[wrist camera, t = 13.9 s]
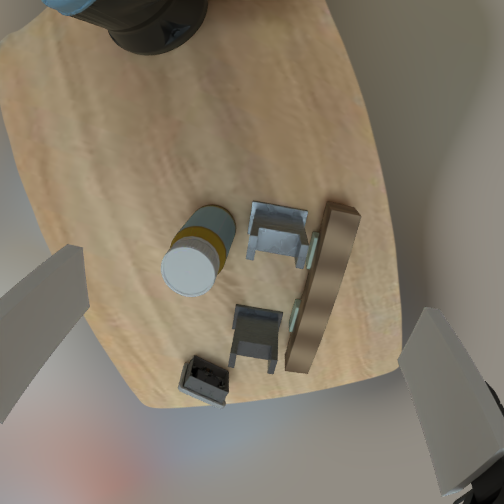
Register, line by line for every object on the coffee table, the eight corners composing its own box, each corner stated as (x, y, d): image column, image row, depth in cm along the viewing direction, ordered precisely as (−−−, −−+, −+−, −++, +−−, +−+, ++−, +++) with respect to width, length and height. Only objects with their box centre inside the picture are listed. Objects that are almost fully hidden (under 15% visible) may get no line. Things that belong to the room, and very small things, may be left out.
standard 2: (253, 200, 45) (245, 225, 35) (307, 210, 45) (316, 238, 35) (247, 232, 47) (239, 265, 37) (300, 242, 47) (306, 277, 37)
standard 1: (236, 304, 52) (226, 347, 42) (282, 312, 52) (283, 356, 42) (232, 326, 54) (223, 370, 44) (276, 334, 54) (275, 379, 44)
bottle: (245, 222, 46) (231, 269, 32) (218, 256, 49) (197, 310, 35) (207, 194, 45) (177, 230, 31) (182, 229, 47) (146, 276, 34)
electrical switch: (183, 363, 59) (173, 394, 51) (193, 347, 58) (184, 378, 49) (224, 382, 61) (219, 414, 52) (235, 367, 59) (232, 399, 50)
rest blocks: (312, 231, 46) (314, 237, 44) (344, 237, 46) (347, 244, 44) (288, 322, 53) (289, 331, 51) (316, 326, 53) (317, 335, 51)
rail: (326, 201, 41) (331, 209, 38) (354, 207, 41) (361, 216, 38) (284, 355, 53) (284, 370, 49) (306, 358, 53) (307, 373, 49)
